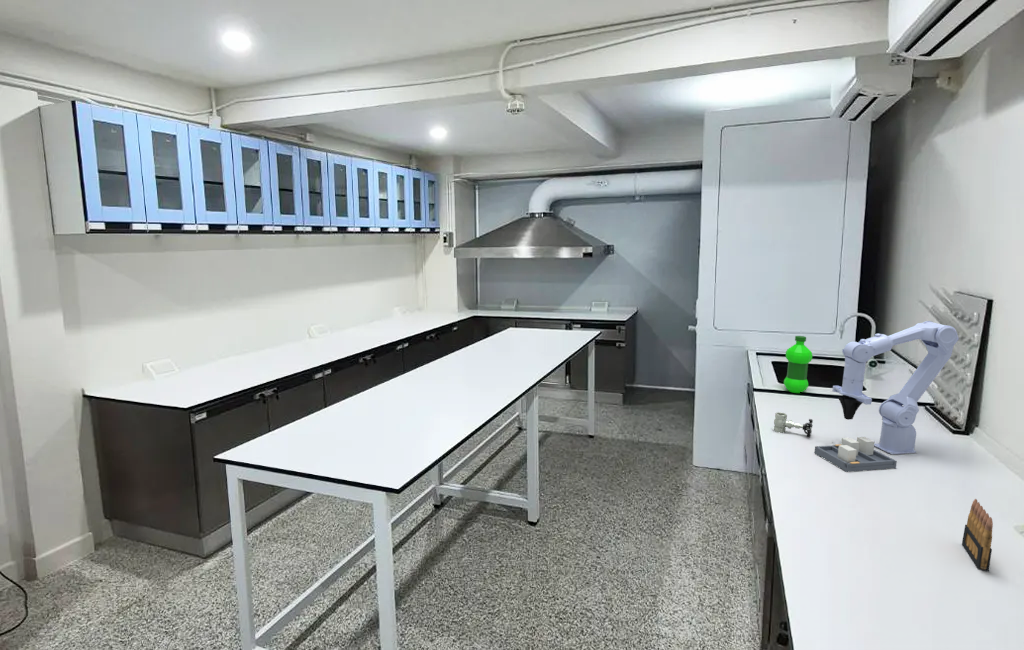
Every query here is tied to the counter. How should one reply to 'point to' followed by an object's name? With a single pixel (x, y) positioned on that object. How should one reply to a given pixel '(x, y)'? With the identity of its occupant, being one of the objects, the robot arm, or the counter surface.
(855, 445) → the off-white block
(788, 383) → the plastic bottle
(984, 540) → the ammunition clip
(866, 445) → the pale grey block
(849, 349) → the robot arm
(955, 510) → the counter surface
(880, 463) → the grey divided tray
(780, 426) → the valve
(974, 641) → the counter surface
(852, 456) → the off-white plastic block
